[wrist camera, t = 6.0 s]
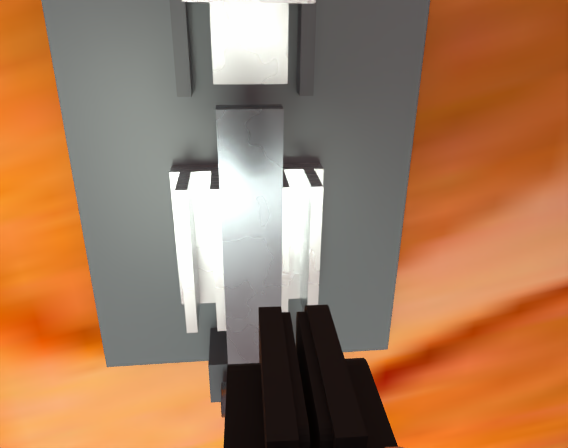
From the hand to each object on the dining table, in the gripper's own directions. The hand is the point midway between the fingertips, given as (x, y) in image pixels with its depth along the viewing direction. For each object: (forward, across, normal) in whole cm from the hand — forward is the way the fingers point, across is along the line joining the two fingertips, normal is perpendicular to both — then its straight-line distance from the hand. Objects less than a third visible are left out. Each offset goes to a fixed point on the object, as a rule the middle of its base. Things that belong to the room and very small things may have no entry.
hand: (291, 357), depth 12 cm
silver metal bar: (+9, +1, +3) cm, 10 cm away
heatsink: (+13, +1, +2) cm, 13 cm away
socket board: (+14, +1, -1) cm, 14 cm away
